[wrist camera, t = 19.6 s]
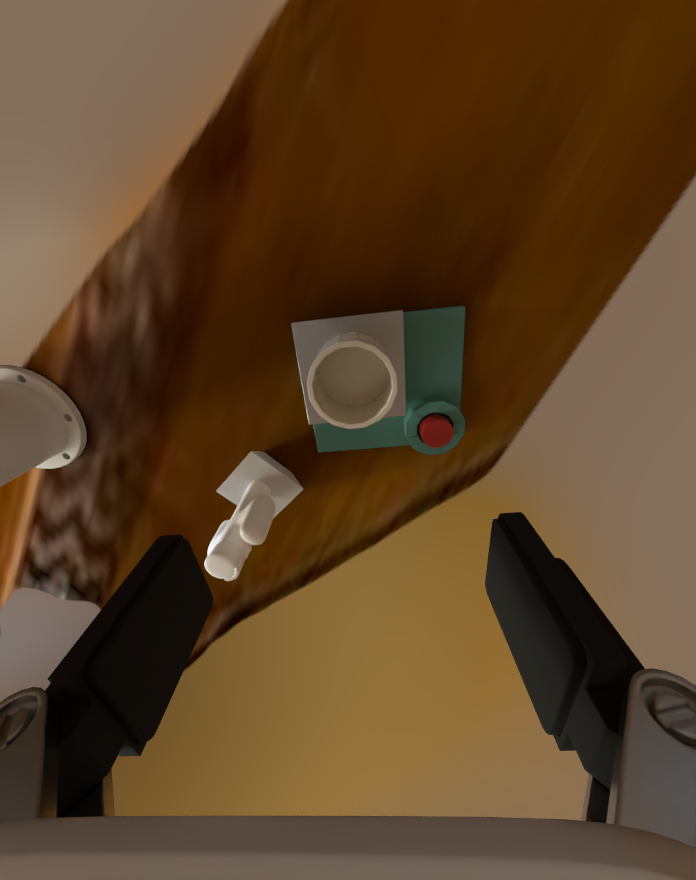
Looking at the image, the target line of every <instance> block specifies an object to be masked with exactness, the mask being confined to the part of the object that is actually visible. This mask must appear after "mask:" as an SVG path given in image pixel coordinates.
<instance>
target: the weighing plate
mask: <svg viewBox="0 0 696 880" xmlns="http://www.w3.org/2000/svg"><path fill="white" fill-rule="evenodd" d="M291 326H292V331H293V337H294V343H295V348H296V354H297V360H298V365H299V371H300V376H301V382H302V388H303V393H304V399H305V405H306V410H307V416H308V421H309V424H320V423H329V422H328V421H327V420H325V419H324V418H323V417H321V416H320V415H319V414H318V413H317V411H316V410H315V408H314V407H313V405H312V403H311V402H310V400H309V394H308V389H307V379H308V375H309V371H310V367H311V365H312V363H313V361H314V359H315V358H316V356H317V354H318V353H319V351H320V350H321V349H322V347H323V346H324V345H325V343H326V342H328V341H329V340H330V339H332V338H333V337H335V336H337V335H340V334H343V333H348V332H359V333H364V334H367V335H369V336H371V337H373V338H375V339H376V340H377V341H379V342H380V343H381V344H382V346H383V347H385V349H386V351H387V353H388V355H389V357H390V359H391V361H392V364H393V366H394V368H395V371H396V373H397V387H398V391H397V395H396V397H395V400H394V403H393V405H392V408H391V409H390V410H389V411H388V412H387V413H386V414H385V415H384V417H383V418H387V417H398V416H406V388H405V354H404V321H403V310H395V311H386V312H377V313H368V314H359V315H351V316H342V317H333V318H324V319H316V320H307V321H298V322H292V323H291Z"/></svg>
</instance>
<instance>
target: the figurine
mask: <svg viewBox="0 0 696 880" xmlns="http://www.w3.org/2000/svg"><path fill="white" fill-rule="evenodd" d="M302 490H303V488H302V486H301V485H300V484H299V482H298V481H297V479H296V478H295V476H294V475H293V474H292V472H290V471H289V470H288V469H286V468H285V467H284V466H282V465H281V464H280V463H278V462H277V461H276V460H274V459H273V458H271V457H270V456H269V455H267V454H266V453H265V452H261V451H251V452H250V453H249V454H248V455H247V456H246V458H245V459H244V460H243V461H242V462H241V463H240V464H239V466H238V467H237V468H236V469H235V470H234V471H233V472H232V473H231V475H230V476H229V477H228V478H227V479H226V480H225V481H224V483H223V484H222V485H221V486H220V487H219V488H218V489H217V491H216V492H218V493H219V494H221V495H222V496H224V497H225V498H227V499H228V500H230V501H231V502H233V503H234V504H236V505H237V508H236V510H235V512H234V514H233V516H232V517H231V519H230V520H225V521H224V522H222V524H221V525H220V527H219V529H218V531H217V532H216V534H215V536H214V537H213V539H212V541H211V543H210V545H209V548H208V553H207V554H208V557H207V558H206V560H205V568H206V570H207V571H208V573H209V574H211V575H212V576H214V577H216V578H220V579H225V580H226V581H231V580H234V579H236V578H237V577H238V575H239V573H240V571H241V569H242V566H243V564H244V562H245V559H246V558H248V556H247V555H248V554H249V553H250V551H251V549H252V547H251V546H252V545H259V544H261V543H263V542H264V540H265V539H266V536H267V534H268V531H269V528H270V525H271V523H272V520H273V518H274V517H275V516H276V515H277V514H278V513H279V512H280V511H281V510H282V509H283V508H285V507H286V506H287V505H288V504H289V503H290V502H291V501H292V500H293V499H294V498H295V497H296V496H297V495H298V494H299V493H300V492H301V491H302Z"/></svg>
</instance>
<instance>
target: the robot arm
mask: <svg viewBox="0 0 696 880" xmlns="http://www.w3.org/2000/svg"><path fill="white" fill-rule="evenodd" d="M86 441H87V433H86V427H85V423H84V420H83V418H82V416H81V414H80V412H79V410H78V409H77V407H76V406H75V404H74V403H73V401H72V400H71V399H70V398H69V397H68V396H67V395H66V394H65V393H64V392H63V391H62V390H61V389H60V388H59V387H57V386H56V385H55V384H54V383H52V382H51V381H49V380H48V379H46V378H45V377H43V376H41V375H39V374H37V373H35V372H33V371H30V370H27V369H24V368H22V367H17V366H11V365H0V487H1V486H3V485H5V484H6V483H8V482H10V481H12V480H13V479H15V478H17V477H19V476H20V475H22V474H24V473H26V472H27V471H29V470H31V469H33V468H34V467H36V468H42V469H53V468H59V467H62V466H65V465H67V464H69V463H71V462H72V461H74V460H75V459H77V458H78V457H79V456H80V455H81V454H82V452H83V450H84V448H85V446H86ZM485 586H486V591H487V595H488V597H489V600H490V602H491V604H492V607H493V609H494V612H495V614H496V617H497V619H498V621H499V624H500V626H501V629H502V631H503V633H504V636H505V638H506V640H507V643H508V645H509V648H510V650H511V653H512V655H513V658H514V660H515V662H516V665H517V667H518V669H519V672H520V674H521V676H522V679H523V682H524V684H525V686H526V689H527V691H528V694H529V696H530V699H531V701H532V703H533V706H534V708H535V711H536V713H537V715H538V718H539V720H540V723H541V725H542V727H543V729H544V730H545V732H546V733H547V734H549V735H553V736H554V738H555V740H556V743H557V745H558V747H559V750H560V751H569V750H570V751H571V750H576V751H577V754H578V756H579V758H580V760H581V762H582V765H583V766H584V769H585V770H586V771H587V772H588V773H589V777H588V783H587V788H586V795H585V800H584V806H583V812H582V819H581V821H577V820H565V819H534V818H533V819H532V818H501V817H499V818H498V817H422V816H418V817H417V816H115V810H114V798H113V782H112V769H111V768H112V766H113V764H114V762H115V760H116V758H117V756H118V755H119V756H140V755H141V753H142V751H143V749H144V747H145V745H146V742H147V741H149V740H150V739H151V738H152V737H153V736H154V735H155V732H156V731H157V729H158V726H159V724H160V722H161V720H162V717H163V715H164V713H165V711H166V709H167V706H168V704H169V702H170V699H171V697H172V695H173V693H174V691H175V688H176V686H177V684H178V682H179V679H180V677H181V675H182V673H183V671H184V668H185V666H186V664H187V662H188V660H189V657H190V655H191V653H192V651H193V648H194V646H195V644H196V642H197V639H198V637H199V635H200V633H201V631H202V628H203V626H204V624H205V622H206V619H207V617H208V615H209V613H210V610H211V608H212V604H213V596H212V594H211V591H210V589H209V587H208V584H207V582H206V580H205V578H204V575H203V573H202V571H201V568H200V566H199V564H198V562H197V559H196V557H195V555H194V553H193V550H192V548H191V546H190V543H189V541H188V540H187V539H184V538H183V536H181V535H167V536H160V537H159V538H158V539H157V540H156V541H155V542H154V543H153V545H152V546H151V547H150V549H149V550H148V551H147V552H146V554H145V555H144V556H143V557H142V559H141V560H140V561H139V563H138V564H137V565H136V566H135V568H134V569H133V570H132V572H131V573H130V574H129V575H128V577H127V578H126V579H125V580H124V582H123V583H122V584H121V586H120V587H119V588H118V589H117V591H116V592H115V593H114V595H113V596H112V597H111V598H110V600H109V601H108V602H107V604H106V605H105V606H104V607H103V609H102V610H101V611H100V612H99V614H98V615H97V617H96V618H95V619H94V620H93V621H92V623H91V624H90V625H89V627H88V628H87V629H86V630H85V632H84V633H83V634H82V636H81V637H80V638H79V640H78V641H77V642H76V643H75V644H74V646H73V647H72V648H71V650H70V651H69V652H68V654H67V655H66V656H65V657H64V659H63V660H62V661H61V663H60V664H59V665H58V666H57V668H56V669H55V670H54V671H53V673H52V674H51V675H50V677H49V678H48V680H49V681H50V682H51V684H50V685H49V686H48V688H47V689H46V690H45V691H44V690H43V689H42V688H37V687H31V688H28V689H24V690H21V691H19V692H17V693H15V694H13V695H11V696H9V697H7V698H6V699H4V700H3V701H1V702H0V880H696V685H694V684H692V683H691V682H689V681H687V680H686V679H684V678H682V677H680V676H678V675H675V674H672V673H670V672H667V671H663V670H658V669H645V668H644V667H643V666H642V664H641V663H640V662H639V660H638V659H637V658H636V656H635V655H634V653H633V652H632V651H631V649H630V648H629V647H628V645H627V644H626V643H625V641H624V640H623V639H622V637H621V636H620V635H619V633H618V632H617V631H616V629H615V628H614V626H613V625H612V624H611V622H610V621H609V620H608V619H607V617H606V616H605V614H604V613H603V612H602V610H601V609H600V608H599V606H598V605H597V604H596V602H595V601H594V600H593V598H592V597H591V595H590V594H589V593H588V592H587V590H586V589H585V587H584V586H583V585H582V583H581V582H580V581H579V579H578V578H577V577H576V575H575V574H574V573H573V571H572V570H571V569H570V567H569V566H568V565H567V564H566V563H565V562H564V561H563V560H562V559H560V558H554V556H553V555H552V553H551V552H550V551H549V549H548V548H547V546H546V545H545V543H544V542H543V541H542V539H541V538H540V537H539V535H538V534H537V533H536V531H535V530H534V528H533V527H532V525H531V524H530V523H529V521H528V520H527V518H526V517H525V516H524V514H522V513H521V512H516V513H501V514H500V515H499V516H498V519H493V522H492V529H491V537H490V546H489V554H488V563H487V571H486V580H485Z"/></svg>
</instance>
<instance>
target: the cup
mask: <svg viewBox="0 0 696 880" xmlns="http://www.w3.org/2000/svg"><path fill="white" fill-rule="evenodd" d="M307 389H308V394H309V400H310V402H311V403H312V405H313V407H314V408H315V410H316V411H317V413H318V414H319V415H320V416H321V417H323V418H324V419H325V420H327V421H328V422H329V423H331V424H332V425H336V426H339V427H343V428H347V429H353V428H364V427H367V426H369V425H371V424H373V423H375V422H377V421H379V420H381V419H382V418H383V417H384V415H385V414H386V413H387V412H388V411H389V410H390V409H391V408H392V405H393V403H394V400H395V397H396V395H397V391H398V387H397V373H396V371H395V368H394V366H393V364H392V361H391V359H390V357H389V355H388V353H387V351H386V349H385V347H383V346H382V344H381V343H380V342H379V341H377V340H376V339H375V338H373V337H371V336H369V335H367V334H364V333H359V332H348V333H343V334H340V335H337V336H335V337H333V338H332V339H330V340H329V341H328V342H326V343H325V345H324V346H323V347H322V349H321V350H320V351H319V353H318V354H317V356H316V358H315V359H314V361H313V363H312V365H311V367H310V371H309V375H308V379H307Z"/></svg>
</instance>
